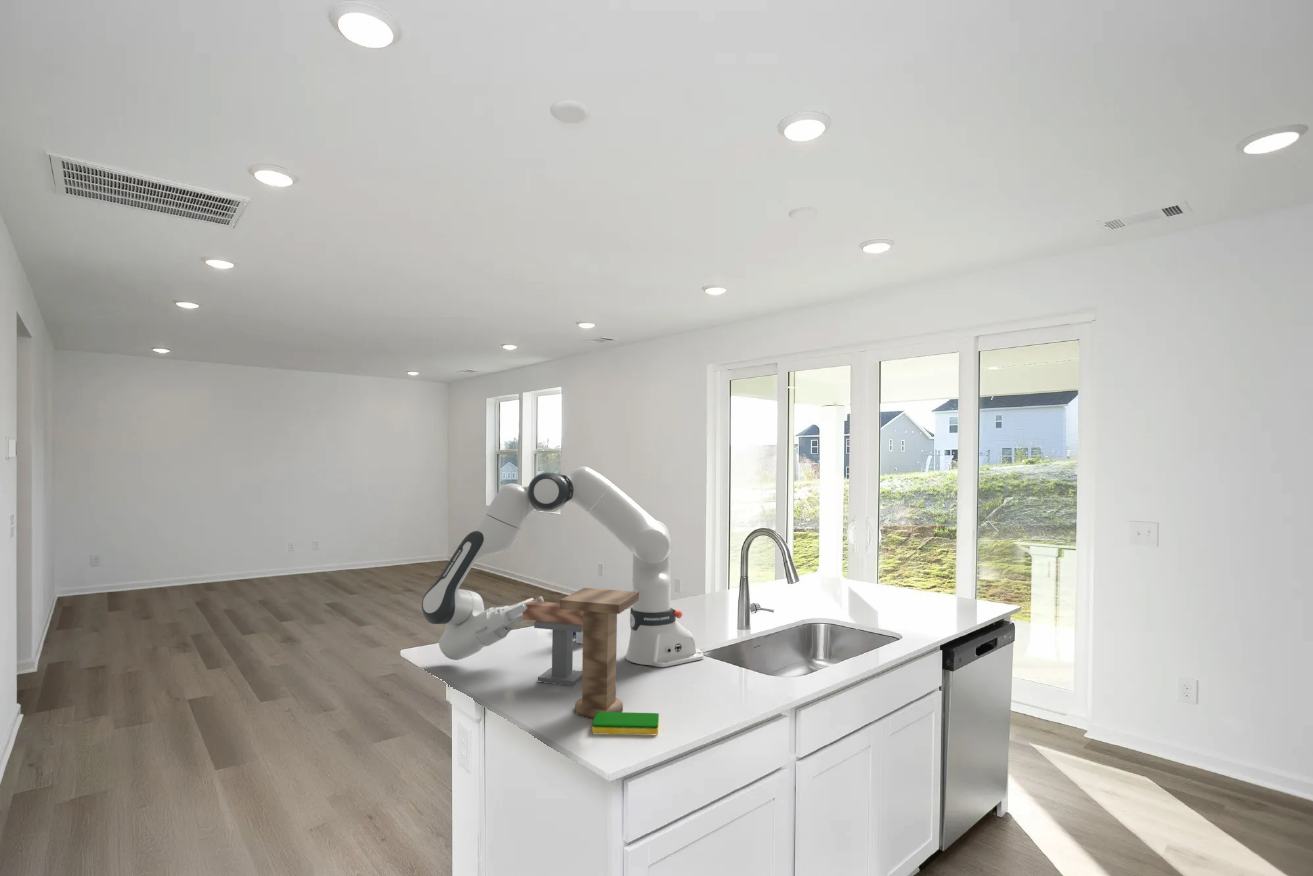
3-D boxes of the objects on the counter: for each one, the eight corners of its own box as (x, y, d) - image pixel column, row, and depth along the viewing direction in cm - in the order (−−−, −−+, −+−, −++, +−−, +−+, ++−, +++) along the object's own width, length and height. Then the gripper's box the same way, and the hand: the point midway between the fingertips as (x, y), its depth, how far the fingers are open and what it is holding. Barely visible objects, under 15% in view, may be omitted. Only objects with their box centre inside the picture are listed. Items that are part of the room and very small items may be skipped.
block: (595, 621, 174) (596, 606, 175) (590, 625, 171) (590, 609, 171) (529, 615, 180) (529, 600, 180) (522, 619, 176) (522, 604, 176)
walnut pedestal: (637, 702, 159) (638, 592, 160) (617, 725, 146) (619, 604, 146) (582, 695, 163) (584, 587, 164) (558, 717, 150) (559, 599, 150)
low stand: (591, 676, 177) (592, 619, 177) (579, 687, 169) (580, 627, 169) (546, 671, 180) (546, 615, 181) (532, 681, 173) (533, 622, 173)
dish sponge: (596, 722, 149) (596, 711, 149) (658, 723, 148) (658, 712, 148) (592, 736, 141) (592, 724, 141) (657, 737, 141) (658, 725, 141)
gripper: (466, 623, 171) (509, 600, 168) (506, 606, 191) (545, 584, 187) (476, 646, 170) (520, 623, 167) (515, 626, 190) (555, 605, 186)
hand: (533, 602), depth 177 cm, fingers open, 8 cm apart
